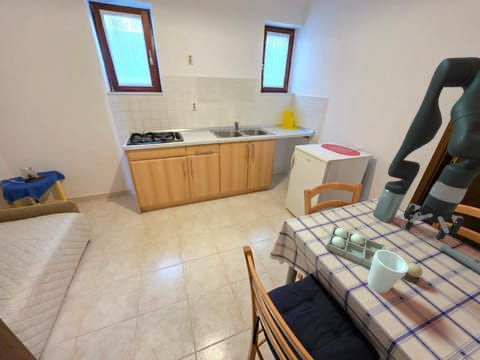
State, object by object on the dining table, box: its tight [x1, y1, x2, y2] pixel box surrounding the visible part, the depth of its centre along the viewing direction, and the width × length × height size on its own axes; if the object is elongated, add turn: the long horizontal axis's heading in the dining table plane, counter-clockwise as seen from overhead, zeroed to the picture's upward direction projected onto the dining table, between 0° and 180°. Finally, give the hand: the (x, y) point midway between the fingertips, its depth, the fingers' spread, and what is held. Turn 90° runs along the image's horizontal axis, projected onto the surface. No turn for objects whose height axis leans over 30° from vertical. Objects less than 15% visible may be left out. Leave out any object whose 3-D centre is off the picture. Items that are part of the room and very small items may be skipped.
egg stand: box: [401, 273, 421, 285], centre depth 75 cm, size 5×5×2 cm
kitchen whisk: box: [400, 219, 480, 274], centre depth 87 cm, size 6×34×6 cm, turn 27°
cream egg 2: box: [332, 237, 344, 248], centre depth 86 cm, size 5×5×5 cm
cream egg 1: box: [335, 227, 347, 239], centre depth 91 cm, size 5×5×5 cm
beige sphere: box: [407, 262, 423, 278], centre depth 74 cm, size 5×5×5 cm
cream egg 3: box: [351, 233, 364, 245], centre depth 88 cm, size 5×5×5 cm
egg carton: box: [325, 226, 386, 269], centre depth 86 cm, size 14×21×3 cm
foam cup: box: [367, 249, 409, 294], centre depth 69 cm, size 10×9×13 cm
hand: (422, 233), depth 72 cm, fingers open, 8 cm apart
